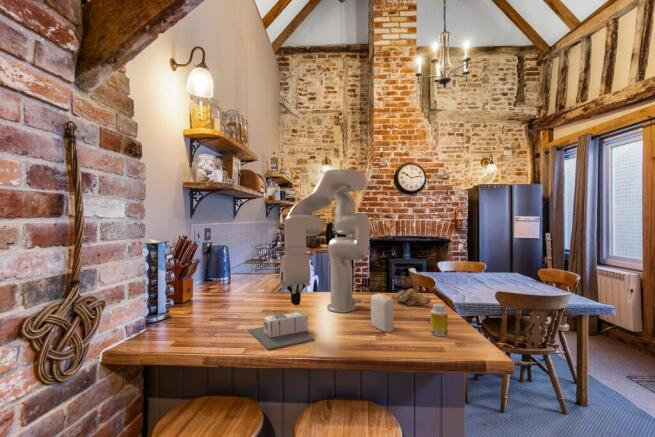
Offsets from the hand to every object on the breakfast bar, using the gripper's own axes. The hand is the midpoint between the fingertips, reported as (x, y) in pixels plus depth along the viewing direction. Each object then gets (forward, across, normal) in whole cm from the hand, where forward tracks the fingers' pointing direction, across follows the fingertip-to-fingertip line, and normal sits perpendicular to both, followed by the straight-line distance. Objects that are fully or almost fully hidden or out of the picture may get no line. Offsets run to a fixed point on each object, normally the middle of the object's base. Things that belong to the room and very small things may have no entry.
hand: (295, 304), depth 118 cm
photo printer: (+11, -30, +10) cm, 33 cm away
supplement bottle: (+11, -43, +25) cm, 51 cm away
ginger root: (+11, -63, -10) cm, 65 cm away
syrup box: (+7, -5, -3) cm, 9 cm away
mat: (+11, +5, -2) cm, 12 cm away
